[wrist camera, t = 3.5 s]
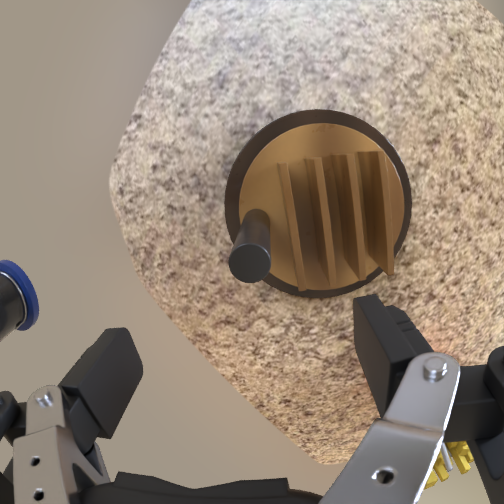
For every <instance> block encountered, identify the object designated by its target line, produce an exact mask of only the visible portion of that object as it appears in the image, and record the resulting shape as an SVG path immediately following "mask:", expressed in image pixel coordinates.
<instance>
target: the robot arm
mask: <svg viewBox="0 0 504 504" xmlns="http://www.w3.org/2000/svg"><path fill="white" fill-rule="evenodd" d="M27 316H28V306H27V302H26V298H25V296H24V293H23V291H22V289H21V287H20V286H19V284H18V283H17V281H16V280H15V279H14V278H13V277H12V276H11V275H10V274H8V273H7V272H5V271H0V342H1V341H2V340H3V339H4V338H5V337H6V336H8V335H9V334H10V333H11V332H12V331H13V330H17V329H18V327H19V326H20V325H22V324H23V323H24V322H25V321H26V319H27ZM353 317H354V342H355V349H356V353H357V356H358V358H359V361H360V364H361V366H362V369H363V371H364V374H365V376H366V379H367V382H368V384H369V387H370V389H371V392H372V395H373V398H374V400H375V403H376V406H377V408H378V411H379V414H380V417H381V418H376V419H375V420H374V422H373V423H372V425H371V426H370V428H369V430H368V431H367V433H366V435H365V436H364V438H363V439H362V441H361V443H360V444H359V446H358V448H357V449H356V451H355V452H354V454H353V455H352V457H351V458H350V460H349V461H348V463H347V464H346V466H345V467H344V469H343V470H342V472H341V473H340V475H339V476H338V477H337V479H336V480H335V482H334V483H333V484H332V486H331V487H330V488H329V490H328V491H327V492H326V494H325V495H324V496H321V495H318V494H314V493H311V492H307V491H302V490H295V489H290V488H289V484H288V480H287V478H277V479H263V480H240V481H236V482H231V483H226V484H221V485H216V486H211V487H204V488H198V489H191V488H187V487H183V486H180V485H177V484H174V483H170V482H168V481H165V480H162V479H159V478H156V477H153V476H146V475H138V474H131V473H125V472H118V474H117V476H116V478H115V481H114V482H111V481H110V478H109V476H108V473H107V470H106V467H105V464H104V461H103V458H102V455H101V452H100V448H99V446H98V445H97V443H96V442H95V440H96V438H97V437H100V438H106V439H111V438H112V436H113V434H114V432H115V430H116V427H117V426H118V424H119V421H120V419H121V418H122V415H123V413H124V412H125V410H126V408H127V406H128V403H129V402H130V400H131V398H132V395H133V394H134V392H135V390H136V388H137V385H138V384H139V382H140V380H141V378H142V375H143V365H142V361H141V359H140V356H139V354H138V352H137V350H136V347H135V345H134V342H133V340H132V337H131V335H130V333H129V331H128V330H127V329H126V328H109V329H106V330H105V331H104V332H103V333H102V335H101V336H100V337H99V338H98V340H97V341H96V342H95V343H94V344H93V345H92V346H91V347H89V348H88V349H87V350H86V351H85V352H84V354H83V355H82V356H81V359H79V360H78V361H77V362H76V363H75V365H74V366H73V367H72V368H71V370H70V371H69V372H68V373H67V374H66V376H65V377H64V378H63V380H62V381H61V382H60V383H59V385H58V386H55V385H47V386H44V387H41V388H39V389H37V390H36V391H35V392H34V393H32V394H31V396H30V397H29V398H28V401H27V402H24V403H17V401H16V400H15V398H14V396H13V395H12V394H11V392H9V391H2V392H0V441H1V439H2V437H3V436H4V437H5V438H6V439H7V441H8V442H9V443H10V444H11V446H12V447H13V457H12V459H11V461H10V462H9V464H8V466H7V467H6V469H5V471H4V473H3V474H2V473H1V472H0V504H417V502H418V500H419V498H420V496H421V494H422V492H423V489H424V487H425V485H426V483H427V480H428V478H429V476H430V473H431V471H432V468H433V466H434V463H435V461H436V458H437V455H438V452H439V450H440V447H441V444H442V443H448V442H459V441H466V443H467V445H468V447H469V450H470V452H471V454H472V457H473V459H474V461H475V464H476V466H477V468H478V471H479V473H480V476H481V479H482V481H483V484H484V487H485V489H486V492H487V495H488V497H489V500H490V503H491V504H504V346H501V347H498V348H496V349H495V350H493V351H492V352H491V354H490V355H489V358H488V362H487V364H485V365H475V366H460V365H459V363H458V362H457V360H456V359H454V358H453V357H452V356H450V355H448V354H445V353H440V352H434V351H433V349H432V348H431V346H430V345H429V344H428V342H427V341H426V340H425V338H424V337H423V336H422V334H421V333H420V332H419V330H418V329H416V326H415V325H414V324H413V322H411V320H410V318H409V317H408V316H407V315H406V313H405V312H404V311H403V310H401V309H399V308H397V307H395V306H393V305H391V306H386V307H385V306H384V305H383V303H382V302H381V300H380V299H379V298H378V296H377V295H376V294H372V295H367V296H362V297H357V298H354V299H353Z"/></svg>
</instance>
